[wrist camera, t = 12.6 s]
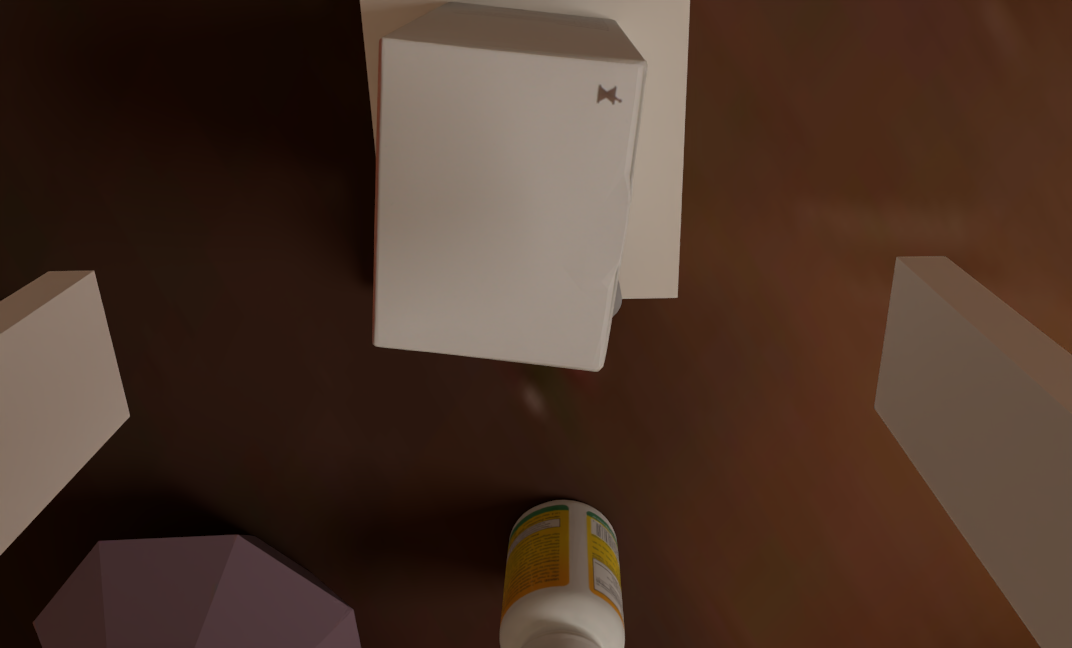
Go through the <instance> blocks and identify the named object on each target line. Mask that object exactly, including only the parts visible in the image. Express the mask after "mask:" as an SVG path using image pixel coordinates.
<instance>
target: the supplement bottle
mask: <svg viewBox="0 0 1072 648" xmlns="http://www.w3.org/2000/svg"><path fill="white" fill-rule="evenodd" d="M624 643H625V632H624V618H623V607H622V595H621V583H620V569H619V557H618V547H617V540H616V536H615V532H614V530H613V528H612V526H611V524H610V523H609V521H608V520H607V519H606V518H605V517H604V516H603V515H602V514H601V513H600V512H599V511H598V510H596V509H595V508H593V507H591V506H589V505H587V504H584V503H582V502H578V501H573V500H554V501H549V502H546V503H543V504H540V505H537V506H535V507H533V508H531V509H530V510H528V511H527V512H525V513H524V514H523V515H522V516H521V517H520V518H519V519H518V520H517V522H516V523H515V525H514V527H513V529H512V531H511V534H510V538H509V545H508V554H507V562H506V573H505V584H504V594H503V605H502V615H501V624H500V646H501V648H624Z"/></svg>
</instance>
